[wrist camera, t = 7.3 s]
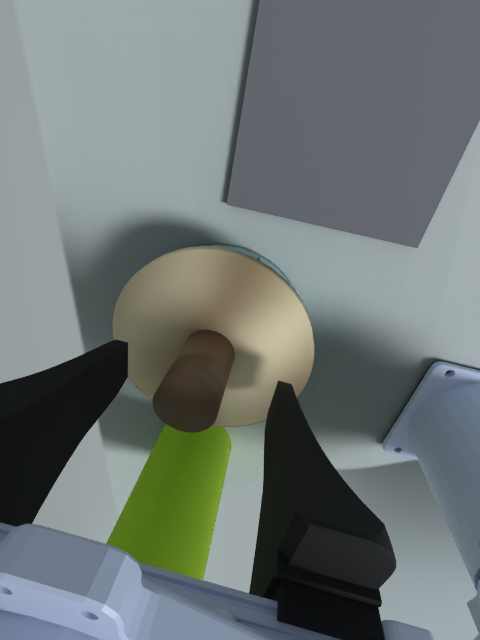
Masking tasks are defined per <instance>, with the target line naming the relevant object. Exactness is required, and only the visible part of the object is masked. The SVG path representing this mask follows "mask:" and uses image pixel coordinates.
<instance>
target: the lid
mask: <svg viewBox="0 0 480 640" xmlns="http://www.w3.org/2000/svg"><path fill="white" fill-rule="evenodd" d="M112 330H113V339H114V340H120V341H124V342H128V376H129V377H130V379H131V380H132V381H133V382H134V384H135V385H136V386H137V387H138V388H139V389H140V390H141V391H142V392H143V393H144V394H145V395H146V396H147V397H148V398H149V399H150V400H152V401H153V407H154V410H155V412H156V414H157V415H158V416H159V418H160V419H161V420H162V421H163V422H164V423H166V424H167V425H169V426H170V427H172V428H174V429H176V430H179V431H183V432H190V433H195V432H201V431H204V430H207V429H208V428H210V427H211V426H216V427H238V426H245V425H251V424H254V423H258V422H261V421H264V420H266V419H267V413H268V410H269V407H270V404H271V401H272V398H273V395H274V392H275V389H276V386H277V382H278V381H282V382H286V383H290V384H292V386H293V388H294V391H295V394H296V397H298V396H299V395H300V393H301V392H302V391H303V389H304V387H305V385H306V384H307V382H308V380H309V377H310V374H311V371H312V368H313V362H314V339H313V333H312V326H311V322H310V319H309V316H308V313H307V311H306V308H305V306H304V304H303V302H302V300H301V299H300V297H299V296H298V294H297V293H296V291H295V290H294V289H293V288H292V286H291V285H290V284H289V283H288V282H287V281H286V280H285V279H284V278H283V277H282V276H281V275H280V274H279V273H277V272H276V271H275V270H274V269H273V268H271V267H269V266H268V265H266V264H265V263H263V262H262V261H260V260H258V259H256V258H254V257H252V256H250V255H248V254H245V253H242V252H239V251H236V250H232V249H227V248H222V247H214V246H196V247H187V248H182V249H178V250H174V251H172V252H169V253H167V254H164V255H162V256H160V257H158V258H157V259H155V260H153V261H151V262H150V263H148V264H147V265H145V266H144V267H143V268H142V269H140V270H139V271H138V272H137V273H135V274H134V275H133V277H132V278H131V279H130V280H129V281H128V282H127V283H126V285H125V286H124V288H123V290H122V291H121V293H120V295H119V297H118V300H117V302H116V305H115V309H114V313H113V323H112Z"/></svg>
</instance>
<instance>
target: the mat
mask: <svg viewBox="0 0 480 640" xmlns="http://www.w3.org/2000/svg"><path fill="white" fill-rule="evenodd" d="M479 121H480V0H259V6H258V13H257V19H256V25H255V31H254V37H253V44H252V50H251V56H250V62H249V68H248V75H247V81H246V87H245V93H244V99H243V106H242V112H241V118H240V124H239V130H238V137H237V143H236V149H235V155H234V161H233V168H232V174H231V180H230V186H229V192H228V198H227V205H231V206H236V207H240V208H245V209H249V210H253V211H258V212H262V213H266V214H271V215H275V216H280V217H284V218H288V219H293V220H297V221H301V222H306V223H310V224H315V225H319V226H323V227H328V228H332V229H336V230H341V231H345V232H350V233H354V234H358V235H363V236H367V237H371V238H376V239H380V240H385V241H389V242H393V243H398V244H402V245H406V246H411V247H415V248H418V246H419V244H420V242H421V239H422V237H423V235H424V233H425V231H426V229H427V227H428V225H429V223H430V221H431V219H432V217H433V215H434V213H435V211H436V209H437V207H438V205H439V203H440V201H441V198H442V196H443V194H444V192H445V190H446V188H447V186H448V184H449V182H450V180H451V178H452V176H453V174H454V172H455V170H456V168H457V166H458V164H459V162H460V160H461V157H462V155H463V153H464V151H465V149H466V147H467V145H468V143H469V141H470V139H471V137H472V135H473V133H474V131H475V129H476V127H477V125H478V123H479Z"/></svg>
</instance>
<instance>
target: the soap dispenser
mask: <svg viewBox="0 0 480 640" xmlns="http://www.w3.org/2000/svg"><path fill="white" fill-rule="evenodd" d="M230 450H231V440H230V437H229V435H228V433H227V432H226V430H225V429H224V428H223V427H216V426H211V427H210V428H208V429H207V430H204V431H201V432H195V433H190V432H183V431H179V430H176V429H174V428H172V427H170V426H169V425H167V424H165V425H164V427H163V429H162V431H161V433H160V435H159V437H158V439H157V441H156V444H155V446H154V448H153V450H152V452H151V454H150V456H149V458H148V460H147V462H146V464H145V466H144V468H143V470H142V472H141V474H140V476H139V478H138V480H137V482H136V484H135V486H134V488H133V490H132V492H131V494H130V496H129V498H128V501H127V503H126V505H125V507H124V509H123V511H122V513H121V515H120V517H119V519H118V521H117V523H116V525H115V527H114V529H113V531H112V533H111V536H110V537H109V539H108V541H107V543H106V544H108V545H112V546H114V547H116V548H119V549H121V550H123V551H126V552H127V553H128V554H130V555H131V556H132V557H133V558H135V559H136V560H137V562H141V563H144V564H148V565H151V566H155V567H158V568H162V569H165V570H169V571H172V572H176V573H179V574H183V575H186V576H190V577H193V578H197V579H200V580H203V578H204V573H205V569H206V564H207V559H208V554H209V550H210V545H211V540H212V535H213V531H214V526H215V521H216V516H217V512H218V507H219V502H220V497H221V493H222V488H223V483H224V479H225V474H226V469H227V464H228V460H229V455H230Z"/></svg>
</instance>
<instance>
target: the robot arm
mask: <svg viewBox="0 0 480 640" xmlns="http://www.w3.org/2000/svg"><path fill="white" fill-rule="evenodd" d="M449 370H451V372H449V373H446V372H447V371H449ZM127 377H128V342H124V341H120V340H113V341H111V342H109V343H106V344H104V345H102V346H100V347H98V348H96V349H94V350H92V351H89V352H87V353H85V354H83V355H81V356H79V357H76V358H74V359H72V360H69V361H67V362H64V363H62V364H60V365H57V366H55V367H52V368H49V369H47V370H44V371H41V372H38V373H35V374H32V375H29V376H26V377H23V378H19V379H15V380H12V381H8V382H5V383H1V384H0V640H434V639H433V636H432V634H431V632H429V631H428V630H426V629H423V628H419V627H415V626H412V625H408V624H405V623H401V622H397V621H393V620H383V621H381V619H380V614H379V609H378V607H380V606H381V604H382V601H381V596H380V591H379V588H380V587H381V586H382V585H383V584H384V582H385V581H386V580H387V579H388V578H389V577H390V576H391V575H392V574H393V572H394V570H395V569H396V559H395V555H394V552H393V548H392V545H391V542H390V539H389V536H388V533H387V531H386V528H385V525H384V524H383V523H382V522H381V520H380V519H378V518H377V516H376V515H375V514H373V512H372V511H371V510H370V509H369V508H368V507H367V506H366V505H365V504H364V503H363V502H362V501H361V500H360V499H359V498H358V496H357V495H356V494H355V493H354V492H353V491H352V489H351V488H350V487H349V486H348V485H347V483H346V482H345V481H344V480H343V478H342V477H341V476H340V474H339V473H338V472H337V470H336V469H335V468H334V467H333V465H332V464H331V462H330V461H329V459H328V458H327V456H326V455H325V453H324V452H323V450H322V448H321V447H320V445H319V443H318V442H317V440H316V438H315V436H314V434H313V432H312V431H311V429H310V427H309V425H308V423H307V420H306V418H305V416H304V414H303V412H302V409H301V407H300V405H299V402H298V400H297V397H296V394H295V391H294V388H293V386H292V384H290V383H286V382H282V381H278V382H277V386H276V389H275V392H274V395H273V398H272V401H271V404H270V407H269V410H268V413H267V420H266V427H265V441H264V481H263V494H262V502H261V512H260V519H259V527H258V535H257V542H256V550H255V557H254V564H253V571H252V578H251V585H250V592H249V593H245V592H242V591H238V590H235V589H232V588H228V587H224V586H221V585H218V584H214V583H211V582H207V581H204V580H200V579H197V578H193V577H190V576H186V575H183V574H179V573H176V572H172V571H169V570H165V569H162V568H158V567H155V566H151V565H148V564H144V563H141V562H137V560H136V559H135V558H133V557H132V556H131V555H130V554H128V553H127V552H126V551H123V550H121V549H119V548H116V547H114V546H112V545H108V544H104V543H101V542H98V541H94V540H90V539H87V538H83V537H80V536H76V535H73V534H69V533H66V532H62V531H59V530H55V529H52V528H48V527H45V526H41V525H35V524H32V522H33V521H34V519H35V517H36V515H37V513H38V511H39V509H40V508H41V506H42V504H43V502H44V501H45V499H46V497H47V495H48V493H49V492H50V490H51V488H52V487H53V485H54V483H55V482H56V480H57V478H58V477H59V475H60V473H61V472H62V470H63V468H64V467H65V465H66V463H67V462H68V460H69V459H70V457H71V456H72V454H73V452H74V451H75V449H76V448H77V446H78V445H79V443H80V442H81V440H82V439H83V437H84V436H85V435H86V433H87V432H88V431H89V429H90V428H91V427H92V426H93V424H94V423H95V422H96V421H97V419H98V418H99V417H100V416H101V414H102V413H103V412H104V411H105V409H106V408H107V407H108V406H109V404H110V403H111V402H112V400H113V399H114V398H115V397H116V395H117V394H118V392H119V391H120V389H121V387H122V386H123V384H124V382H125V380H126V379H127ZM382 445H383V448H384V450H385V451H386V452H389V453H393V454H397V455H401V456H405V457H409V458H413V459H416V460H419V463H420V465H421V467H422V469H423V472H424V474H425V476H426V478H427V481H428V483H429V485H430V487H431V490H432V492H433V494H434V496H435V498H436V501H437V503H438V505H439V508H440V510H441V512H442V514H443V516H444V519H445V521H446V523H447V525H448V528H449V530H450V532H451V534H452V536H453V539H454V541H455V543H456V545H457V548H458V550H459V552H460V555H461V557H462V559H463V561H464V564H465V566H466V568H467V570H468V572H469V575H470V577H471V579H472V581H473V584H474V586H475V588H476V590H477V595H476V596H475V597H474V598H473V599H472V600H470V601H468V603H467V605H468V607H469V610H470V612H471V615H472V617H473V620H474V622H475V625H476V627H477V630H478V632H479V634H478V635H477V636H476V638H475V639H474V640H480V371H479V370H475V369H471V368H467V367H463V366H459V365H455V364H450V363H446V362H436V363H434V364H433V365H432V366H431V367H430V369H429V370H428V372H427V373H426V375H425V376H424V378H423V380H422V381H421V383H420V384H419V386H418V387H417V389H416V391H415V392H414V394H413V395H412V397H411V399H410V400H409V402H408V403H407V405H406V406H405V408H404V410H403V411H402V413H401V414H400V416H399V417H398V419H397V421H396V422H395V424H394V425H393V427H392V429H391V430H390V432H389V433H388V435H387V436H386V438H385V440H384V441H383V443H382ZM397 447H398V448H397Z"/></svg>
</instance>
